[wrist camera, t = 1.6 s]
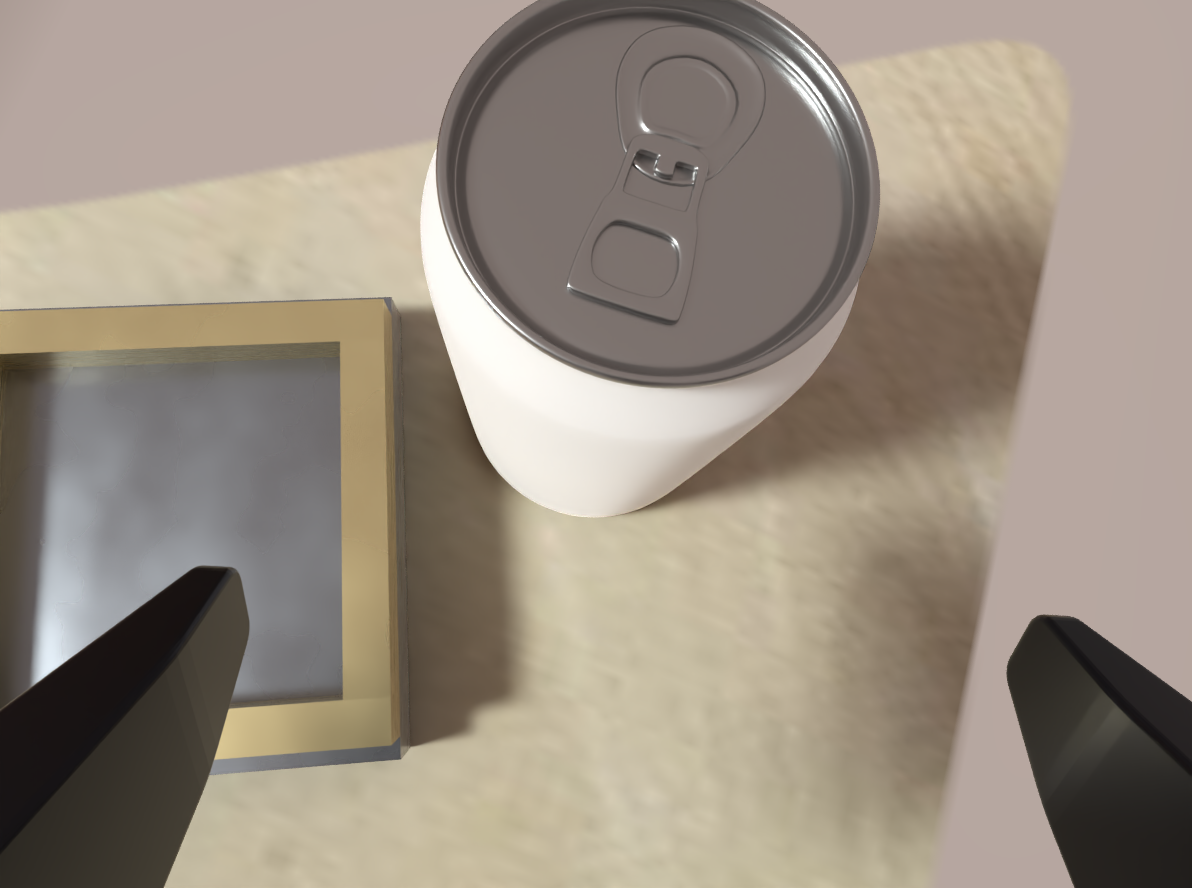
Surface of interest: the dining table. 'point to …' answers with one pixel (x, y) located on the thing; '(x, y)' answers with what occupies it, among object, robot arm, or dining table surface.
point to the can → (641, 238)
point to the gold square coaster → (216, 504)
